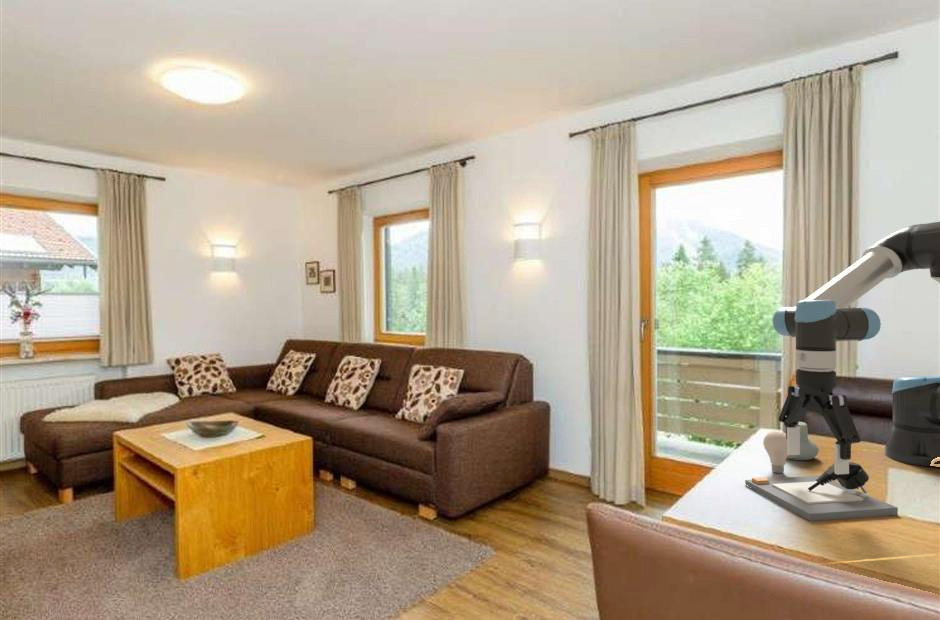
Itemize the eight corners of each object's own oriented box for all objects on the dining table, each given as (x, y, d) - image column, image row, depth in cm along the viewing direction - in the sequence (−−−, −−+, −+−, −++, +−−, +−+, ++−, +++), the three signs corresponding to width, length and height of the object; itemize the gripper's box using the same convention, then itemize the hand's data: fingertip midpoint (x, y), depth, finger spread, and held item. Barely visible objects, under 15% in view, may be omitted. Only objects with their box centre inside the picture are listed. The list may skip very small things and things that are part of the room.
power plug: (799, 482, 119) (844, 452, 118) (819, 509, 118) (864, 479, 118) (814, 491, 113) (860, 459, 112) (835, 519, 113) (882, 488, 112)
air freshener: (824, 461, 142) (824, 425, 142) (804, 465, 139) (804, 428, 139) (786, 451, 152) (786, 417, 152) (767, 454, 149) (767, 420, 149)
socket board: (820, 481, 127) (820, 472, 127) (897, 514, 107) (897, 503, 107) (745, 486, 124) (745, 476, 124) (809, 521, 105) (809, 509, 105)
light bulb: (795, 473, 133) (795, 430, 133) (789, 479, 128) (789, 435, 128) (766, 467, 138) (766, 426, 138) (760, 473, 133) (760, 431, 133)
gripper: (761, 363, 127) (762, 448, 128) (848, 377, 102) (848, 484, 103) (789, 361, 128) (790, 447, 129) (881, 376, 103) (882, 481, 104)
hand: (816, 463), depth 116 cm, fingers open, 13 cm apart
